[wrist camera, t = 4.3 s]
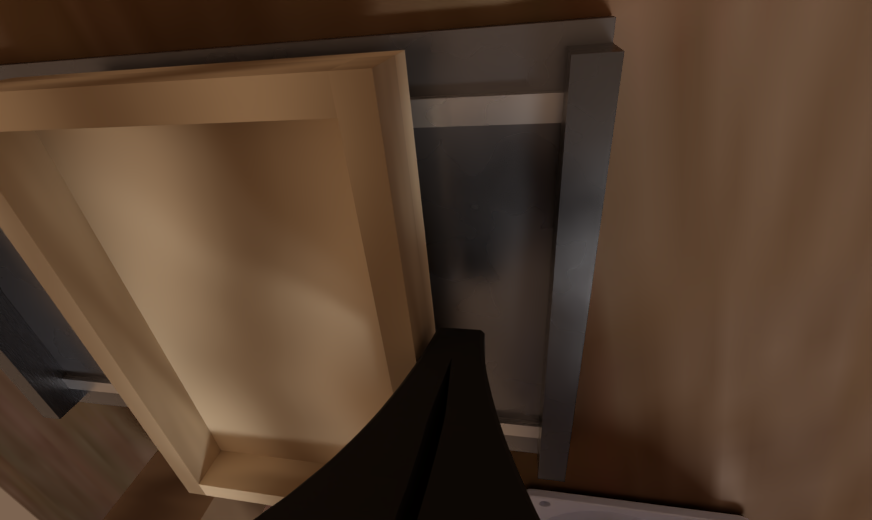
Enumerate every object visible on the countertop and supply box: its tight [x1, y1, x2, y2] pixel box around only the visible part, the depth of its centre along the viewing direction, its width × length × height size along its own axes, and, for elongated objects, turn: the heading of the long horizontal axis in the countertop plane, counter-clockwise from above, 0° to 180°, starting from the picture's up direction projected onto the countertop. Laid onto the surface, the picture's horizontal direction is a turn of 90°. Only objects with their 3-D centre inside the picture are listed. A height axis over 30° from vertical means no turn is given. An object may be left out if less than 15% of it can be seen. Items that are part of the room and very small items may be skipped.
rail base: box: [0, 16, 624, 482], centre depth 16 cm, size 25×16×2 cm, turn 95°
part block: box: [103, 450, 266, 520], centre depth 22 cm, size 4×4×5 cm
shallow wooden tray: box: [0, 50, 436, 506], centre depth 14 cm, size 11×16×3 cm
